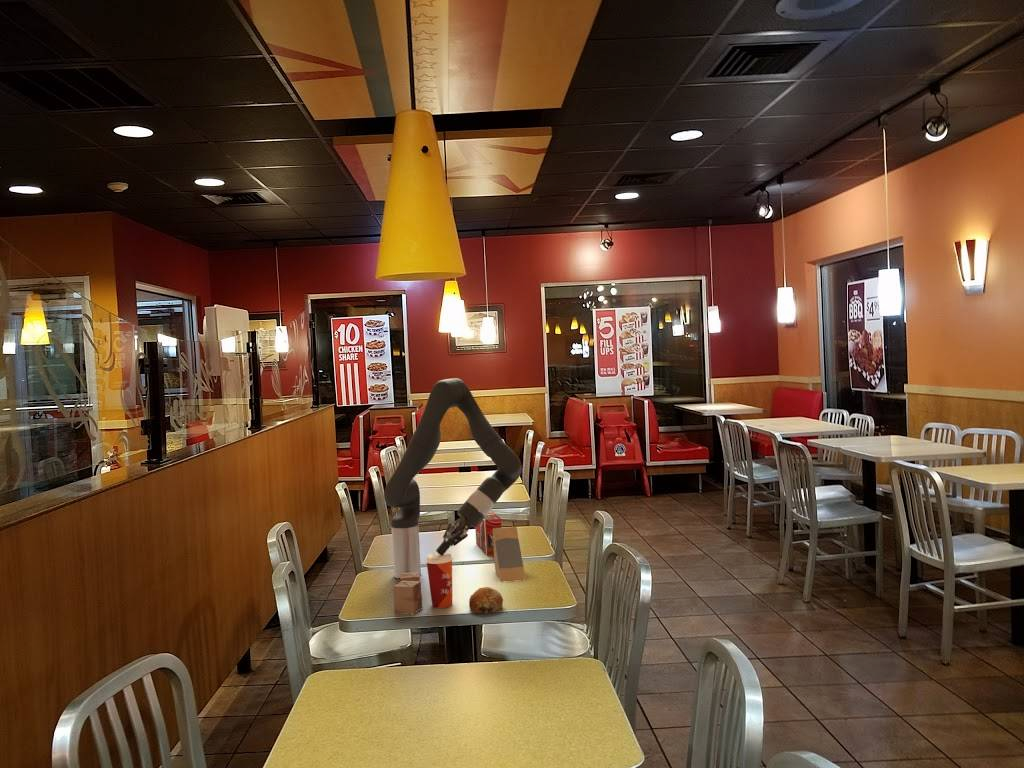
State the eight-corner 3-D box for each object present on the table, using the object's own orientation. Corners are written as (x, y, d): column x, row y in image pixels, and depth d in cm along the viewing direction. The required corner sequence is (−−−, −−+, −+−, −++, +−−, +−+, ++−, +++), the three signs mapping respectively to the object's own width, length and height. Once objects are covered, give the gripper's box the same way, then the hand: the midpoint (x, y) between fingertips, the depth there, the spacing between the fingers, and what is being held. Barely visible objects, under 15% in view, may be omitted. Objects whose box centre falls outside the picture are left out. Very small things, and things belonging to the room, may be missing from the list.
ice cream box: (476, 544, 325) (474, 511, 325) (492, 542, 327) (490, 509, 326) (486, 555, 306) (484, 520, 306) (502, 553, 307) (501, 518, 307)
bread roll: (506, 619, 241) (510, 591, 244) (492, 613, 232) (496, 585, 235) (476, 616, 245) (480, 589, 248) (461, 610, 236) (465, 582, 239)
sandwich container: (500, 583, 267) (498, 537, 267) (494, 571, 282) (492, 528, 282) (526, 580, 269) (524, 534, 268) (518, 569, 284) (516, 526, 283)
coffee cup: (452, 609, 240) (448, 558, 240) (425, 609, 242) (421, 559, 242) (459, 600, 249) (456, 551, 248) (433, 600, 250) (429, 552, 250)
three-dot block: (403, 607, 246) (402, 580, 245) (422, 608, 244) (420, 580, 243) (394, 613, 240) (393, 585, 240) (413, 614, 238) (412, 586, 238)
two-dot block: (401, 598, 255) (399, 572, 254) (420, 597, 255) (419, 571, 255) (401, 604, 249) (399, 577, 248) (420, 602, 249) (419, 576, 249)
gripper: (460, 497, 254) (423, 541, 250) (474, 503, 242) (436, 549, 238) (477, 513, 256) (441, 557, 252) (492, 519, 244) (454, 565, 240)
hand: (438, 553), depth 245 cm, fingers closed
